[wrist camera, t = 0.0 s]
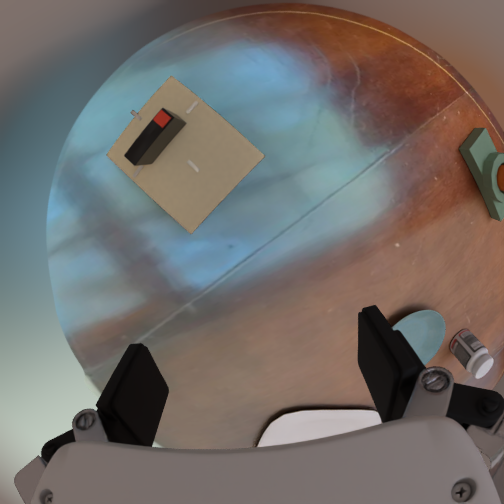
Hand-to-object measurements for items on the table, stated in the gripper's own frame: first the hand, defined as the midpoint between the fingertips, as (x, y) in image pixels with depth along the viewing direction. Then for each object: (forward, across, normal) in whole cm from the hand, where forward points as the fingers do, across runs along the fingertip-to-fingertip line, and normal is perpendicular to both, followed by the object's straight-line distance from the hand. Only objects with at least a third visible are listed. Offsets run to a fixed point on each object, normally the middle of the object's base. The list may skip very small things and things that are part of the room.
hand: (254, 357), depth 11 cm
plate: (+19, -4, +40) cm, 44 cm away
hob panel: (+19, +5, -10) cm, 22 cm away
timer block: (+19, -32, -3) cm, 38 cm away
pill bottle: (+19, -30, +24) cm, 43 cm away
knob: (+16, +6, -11) cm, 21 cm away
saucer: (+19, -18, +19) cm, 33 cm away
